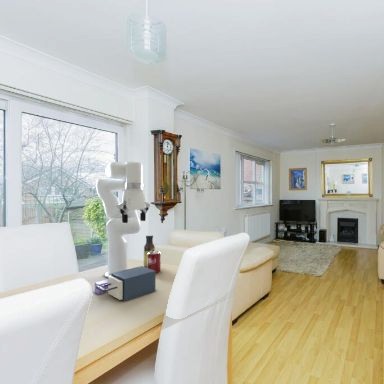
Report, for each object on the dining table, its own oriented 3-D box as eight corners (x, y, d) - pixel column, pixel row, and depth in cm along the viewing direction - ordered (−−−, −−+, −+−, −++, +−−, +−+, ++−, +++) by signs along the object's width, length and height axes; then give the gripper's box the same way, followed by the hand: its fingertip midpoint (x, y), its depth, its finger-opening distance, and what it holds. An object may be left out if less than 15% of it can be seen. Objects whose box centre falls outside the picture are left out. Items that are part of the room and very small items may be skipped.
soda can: (152, 276, 144) (152, 254, 144) (144, 273, 148) (144, 252, 148) (163, 272, 150) (163, 252, 150) (155, 270, 154) (155, 250, 154)
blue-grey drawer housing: (124, 301, 112) (124, 279, 112) (111, 293, 120) (111, 273, 120) (155, 290, 123) (155, 270, 123) (141, 284, 131) (141, 265, 131)
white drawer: (104, 304, 106) (105, 285, 106) (93, 297, 113) (93, 279, 113) (149, 290, 122) (149, 274, 122) (136, 284, 129) (136, 269, 129)
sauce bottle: (153, 268, 157) (154, 236, 157) (142, 269, 156) (142, 236, 156) (155, 265, 164) (155, 234, 163) (144, 266, 162) (144, 234, 162)
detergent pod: (94, 292, 121) (94, 282, 121) (105, 289, 125) (105, 279, 125) (98, 294, 119) (98, 284, 119) (109, 291, 122) (109, 282, 122)
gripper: (144, 187, 137) (144, 219, 137) (112, 186, 122) (112, 223, 122) (154, 187, 133) (154, 220, 133) (122, 186, 118) (122, 224, 118)
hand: (134, 221), depth 127 cm, fingers open, 9 cm apart
